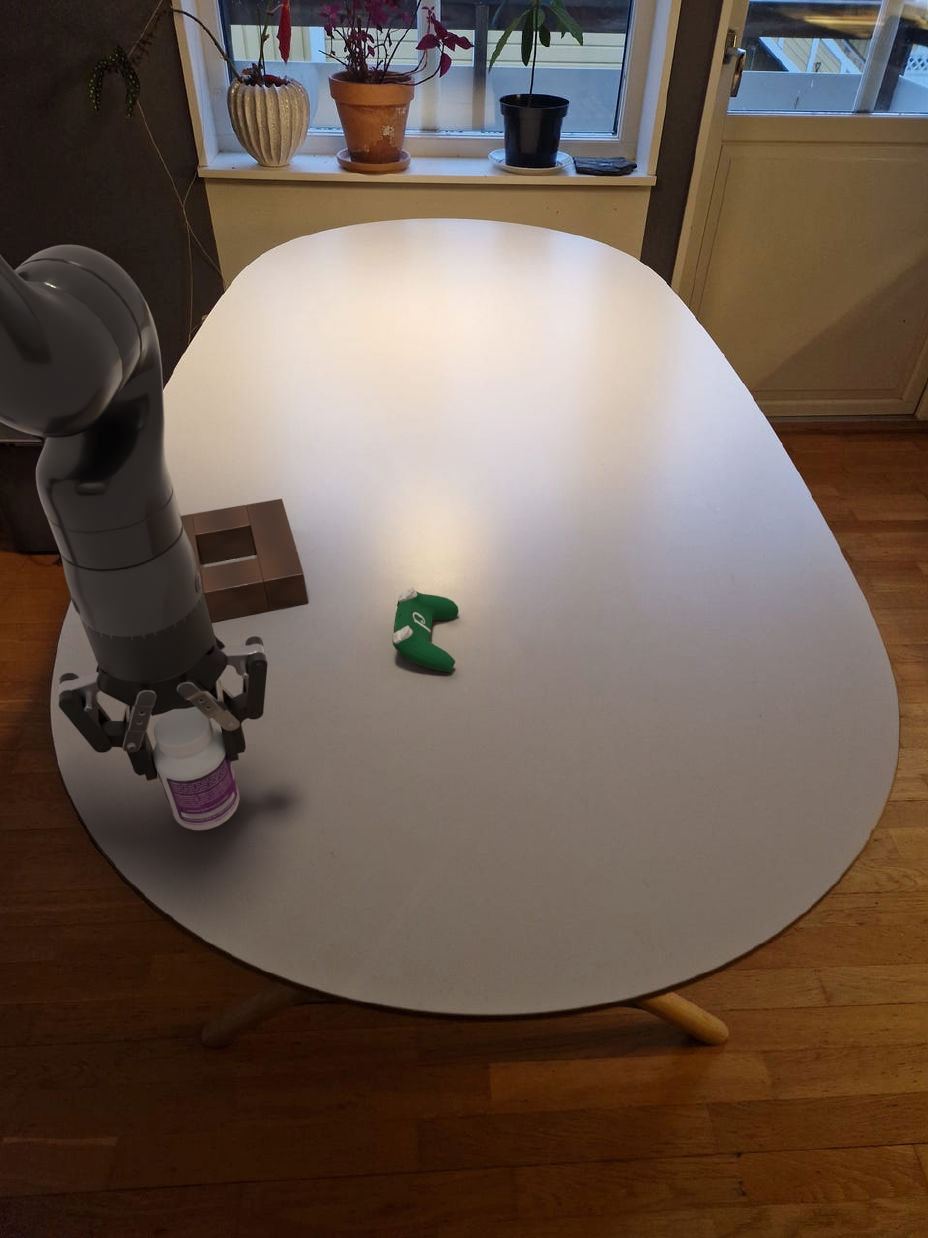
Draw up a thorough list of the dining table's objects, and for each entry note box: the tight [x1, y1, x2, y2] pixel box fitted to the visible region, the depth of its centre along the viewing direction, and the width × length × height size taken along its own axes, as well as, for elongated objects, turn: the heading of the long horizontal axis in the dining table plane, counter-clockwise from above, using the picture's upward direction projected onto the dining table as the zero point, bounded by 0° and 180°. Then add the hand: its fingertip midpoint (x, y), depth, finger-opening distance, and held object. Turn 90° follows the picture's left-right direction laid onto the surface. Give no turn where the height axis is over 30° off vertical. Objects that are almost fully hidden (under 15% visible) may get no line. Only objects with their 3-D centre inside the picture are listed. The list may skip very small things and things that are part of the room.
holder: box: [181, 498, 309, 623], centre depth 91 cm, size 14×14×4 cm
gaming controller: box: [391, 587, 460, 673], centre depth 84 cm, size 9×4×6 cm
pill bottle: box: [153, 707, 240, 831], centre depth 66 cm, size 5×5×10 cm
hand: (192, 761), depth 65 cm, fingers closed on pill bottle, 5 cm apart
